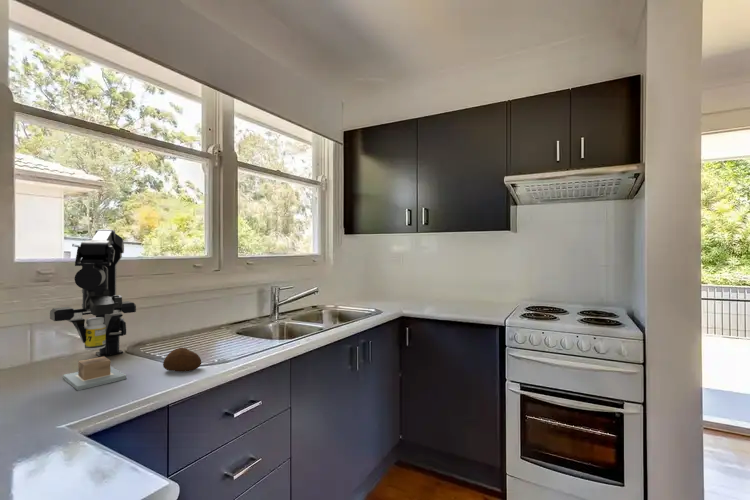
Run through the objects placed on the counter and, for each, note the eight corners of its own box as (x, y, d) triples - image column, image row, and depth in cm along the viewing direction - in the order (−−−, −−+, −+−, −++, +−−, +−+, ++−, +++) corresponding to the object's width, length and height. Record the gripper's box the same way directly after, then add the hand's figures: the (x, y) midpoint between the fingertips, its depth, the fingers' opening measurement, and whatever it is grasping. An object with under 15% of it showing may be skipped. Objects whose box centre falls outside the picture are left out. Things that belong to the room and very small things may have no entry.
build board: (63, 378, 104) (63, 374, 104) (109, 368, 113) (109, 365, 113) (77, 390, 95) (77, 386, 95) (126, 378, 104) (126, 375, 104)
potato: (198, 373, 109) (198, 349, 109) (159, 376, 106) (159, 352, 106) (202, 366, 116) (202, 344, 116) (165, 369, 113) (165, 346, 113)
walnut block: (78, 375, 103) (78, 361, 103) (104, 370, 108) (104, 356, 108) (84, 380, 100) (84, 365, 100) (110, 374, 104) (110, 360, 104)
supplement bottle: (81, 348, 103) (81, 319, 103) (100, 345, 107) (100, 316, 107) (90, 351, 101) (90, 320, 101) (109, 347, 105) (109, 317, 105)
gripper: (60, 291, 92) (59, 353, 92) (143, 285, 106) (143, 339, 106) (49, 287, 98) (49, 345, 99) (129, 282, 113) (128, 333, 113)
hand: (95, 340), depth 104 cm, fingers closed on supplement bottle, 5 cm apart
